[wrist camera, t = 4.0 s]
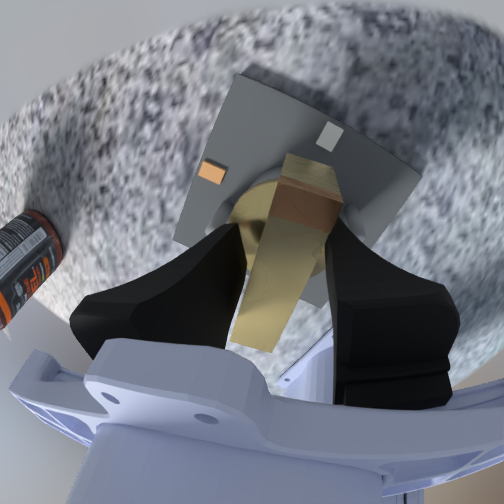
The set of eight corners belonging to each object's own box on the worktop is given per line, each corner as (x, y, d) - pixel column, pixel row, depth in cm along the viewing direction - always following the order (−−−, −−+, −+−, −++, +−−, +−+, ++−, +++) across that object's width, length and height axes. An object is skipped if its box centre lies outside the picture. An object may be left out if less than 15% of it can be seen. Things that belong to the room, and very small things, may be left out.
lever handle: (308, 301, 15) (305, 362, 12) (218, 274, 15) (194, 331, 12) (367, 176, 11) (390, 220, 8) (250, 137, 11) (224, 166, 8)
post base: (321, 299, 19) (320, 340, 16) (177, 232, 18) (153, 265, 15) (417, 171, 13) (442, 197, 10) (240, 74, 12) (220, 72, 9)
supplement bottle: (63, 276, 23) (-8, 367, 13) (22, 243, 22) (-52, 320, 12) (68, 230, 19) (-29, 330, 10) (22, 195, 18) (-73, 274, 9)
